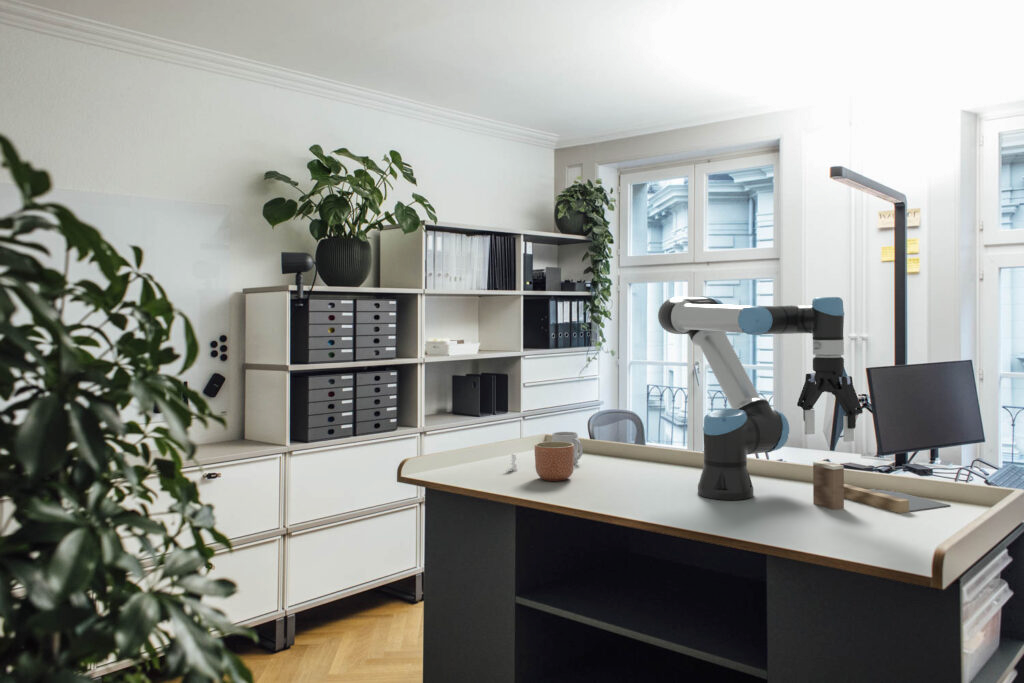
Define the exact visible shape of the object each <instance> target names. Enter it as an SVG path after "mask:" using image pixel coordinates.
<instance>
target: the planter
mask: <svg viewBox="0 0 1024 683" xmlns="http://www.w3.org/2000/svg"><path fill="white" fill-rule="evenodd" d="M533 448H534V465H535V472H536V474H537V476H538V477H539V478H540V479H542V480H543V481H547V482H562V481H565V480H568V479H569V478H570V477H571V476H572V474H573V473H574V469H575V468H574V467H575V464H574V444H573V443H570V442H561V441H552V440H550V441H541V442H537V443H536V442H535V444H534V447H533Z"/></svg>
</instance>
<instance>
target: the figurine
mask: <svg viewBox="0 0 1024 683" xmlns="http://www.w3.org/2000/svg"><path fill="white" fill-rule="evenodd" d="M516 460H517V454H516V453H512V454H511V459H510V461H511V462H510V465H511V467H510V468H507V469H506V472H508V473H509V472H517V471H518V465H517V462H516Z"/></svg>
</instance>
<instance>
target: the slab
mask: <svg viewBox="0 0 1024 683" xmlns="http://www.w3.org/2000/svg"><path fill="white" fill-rule="evenodd" d="M844 468H845V466H844V465H843V464H838V463H835V462H830V461H827V460H826V461H825V460H818V461H813V462H812V476H813V479H812V480H813V481H812V483H813V484H812V487H813V488H812V489H813V490H812V491H813V492H812V494H813V497H812V498H813V500H812V501H813V503H812V504H813V505H815V506H819V507H822V508H826V509H829V510H833V511H834V510H835V511H836V510H842V509H843V508H844V509H845V506H844V505H845V498H844V484H845V483H844V482H845V476H844V475H845V473H844V472H845V469H844Z"/></svg>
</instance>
